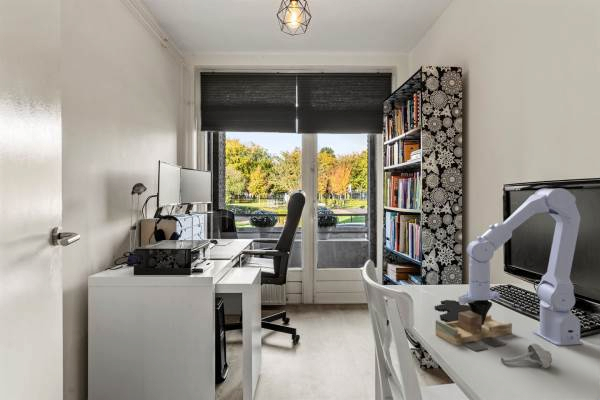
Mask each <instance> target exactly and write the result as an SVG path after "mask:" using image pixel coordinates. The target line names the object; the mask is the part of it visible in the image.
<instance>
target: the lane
mask: <svg viewBox="0 0 600 400" xmlns="http://www.w3.org/2000/svg"><path fill="white" fill-rule="evenodd" d="M512 334H513V323H511V322H506V323H502V322H499V321H497V320H494V319H492V315H491V314H487V315H486V318H485V321H484V325H482V330H481V331H480V330H479V329H476V330H471V333H470V332H468V331H465V330H463V329H461V328H459V327H458V321H453V322H444V321H441V320H438V319H437V320H435V336H438V337H440V338H441V339H444V340H445V341H447V342H449V343H451V344H452V345H454V346H459V345H462V346H464V347H466V348H468V349H469V350H471V351H474V352H476V353H477V352H481V351H484V350H488V349H489V347H487V346H485V345H483V344H481V343H480V342H477V341H481V342H483V343H485V344H487V345H489V346H492V347H493V348H498V347H499V348H500V347H502V346H507V343H506V342H504V341H502V340H500V339H497V338H498V337H502V336H505V335H512Z"/></svg>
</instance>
